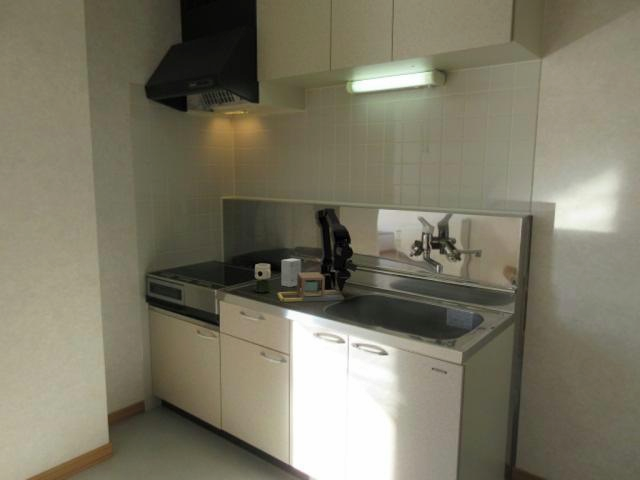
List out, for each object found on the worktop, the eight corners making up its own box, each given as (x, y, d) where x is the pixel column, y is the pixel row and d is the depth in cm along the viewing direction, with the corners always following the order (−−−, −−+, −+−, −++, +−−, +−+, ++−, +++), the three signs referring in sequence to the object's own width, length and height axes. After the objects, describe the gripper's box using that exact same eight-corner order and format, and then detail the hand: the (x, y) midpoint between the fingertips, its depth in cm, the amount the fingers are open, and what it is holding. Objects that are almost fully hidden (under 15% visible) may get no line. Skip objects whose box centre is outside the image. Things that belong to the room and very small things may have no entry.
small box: (292, 282, 239) (292, 257, 238) (301, 284, 235) (301, 259, 234) (280, 285, 233) (281, 259, 232) (289, 287, 229) (290, 261, 228)
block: (303, 290, 211) (304, 279, 210) (314, 290, 212) (314, 279, 211) (306, 293, 206) (306, 282, 205) (317, 292, 207) (317, 281, 206)
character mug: (249, 291, 219) (249, 264, 217) (260, 288, 224) (261, 262, 223) (264, 295, 212) (264, 267, 210) (275, 292, 217) (276, 265, 215)
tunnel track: (277, 295, 212) (277, 273, 210) (336, 293, 218) (337, 271, 217) (281, 302, 200) (282, 278, 199) (343, 299, 207) (344, 276, 206)
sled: (299, 292, 212) (300, 278, 211) (337, 290, 216) (338, 277, 215) (303, 296, 204) (303, 282, 203) (342, 294, 209) (342, 281, 208)
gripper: (362, 258, 203) (361, 293, 205) (349, 252, 221) (348, 284, 223) (338, 259, 200) (337, 294, 202) (327, 252, 218) (326, 284, 220)
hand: (338, 289), depth 212 cm, fingers open, 9 cm apart
